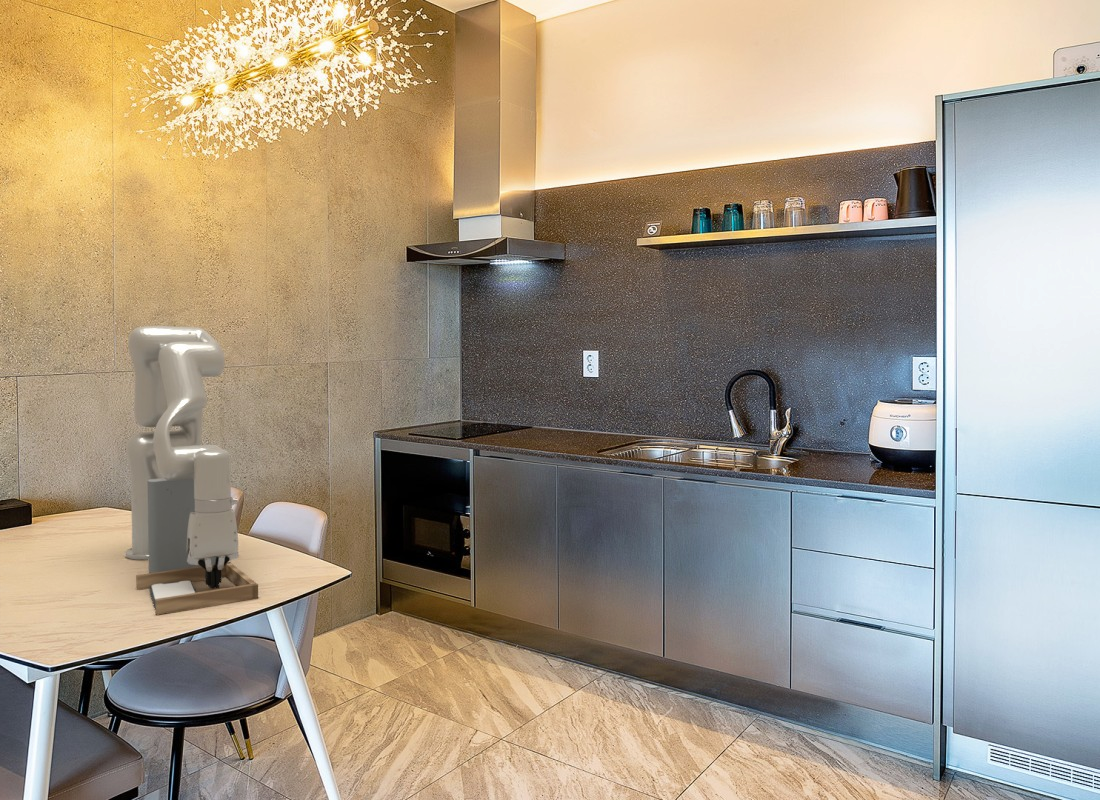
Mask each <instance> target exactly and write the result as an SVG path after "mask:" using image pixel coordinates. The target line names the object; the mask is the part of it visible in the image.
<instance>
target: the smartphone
mask: <svg viewBox="0 0 1100 800" xmlns="http://www.w3.org/2000/svg"><path fill="white" fill-rule="evenodd" d="M191 593H197V590H196V588H195V586H194V583H193V582H192V581H189V580H186V581H177V582H169V583H160V584H153V585H151V586H150V588H149V595H150V598H151V597H152V598H151V601H153V602H152V604H154V605H153V608H155V599H159V598H165V597H172V596H178V595H184V594H191Z"/></svg>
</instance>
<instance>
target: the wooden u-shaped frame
mask: <svg viewBox="0 0 1100 800" xmlns="http://www.w3.org/2000/svg"><path fill="white" fill-rule="evenodd" d="M212 568H214V564H213V565H212ZM225 577H226V578H227V577H228V579H229V580H230V581H231V582H232V583H233V584H234V583H235V584H234V585H235V586H230V587H223V588H215V589H210V590H204V591H199V592H197V591H196V593H191V594H184V595H178V596H172V597H165V598H159V599H155V609H154V611H155V613H156V614H161V615H165V614H164V613H167V614H171V613H170V612H173V613H177V612H176V611H179V612H183V611H184V610H185V611H190V610H195V609H196V608H197V609H202V608H201V607H203V608H208V607H207V606H209V607H213V606H219V605H225V604H231V603H237V602H243V601H244V602H245V601H249V600H255V599H259V584H258V583H257V582H256V581H255V580H253V579H252V578H251V577H249V576H248V575H247V574H246V573H244V572H243V571H242V570H241V569H239V568H238V567H237V566H236V565H234V564H233V563H232V562H230V561H228V562H227V563H226V565H225V566H224V567H223V569H222V570H221V578H225ZM135 579H136V580H135V583H136V584H135V586H136V587H135V589H136V588H137V589H139V590H144V589H143V588H146V589H150V586H151V585H153V584H160V583H169V582H177V581H186V580H189V581H192V583H193V582H198V581H205V569H204V568H203V567H201V566H199V567H191V568H184V569H177V570H170V571H163V572H155V573H149V572H148V573H143V574H136V575H135ZM137 589H136V590H137ZM156 614H155V615H156Z"/></svg>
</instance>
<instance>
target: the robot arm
mask: <svg viewBox="0 0 1100 800" xmlns="http://www.w3.org/2000/svg"><path fill="white" fill-rule="evenodd" d="M127 345H128V352H129V356H130V359H131V361H132V362H131V363H132V366H133V370H134V400H133V401H134V404H133V405H134V407H133V408H134V419H135V422H136V423H137V425H139V426H141V427H142V428H143V427H144V428H154V431H144V432H139V433H136V434H133V435H132V436H131V437H129V439H128V440H127V442H126V444H125V445H126V446H125V451H126V458H127V462H128V468H129V475H130V477H129V478H130V496H131V497H130V499H131V500H130V501H131V502H130V503H131V506H130V507H131V547H130V548H128V549H127V550H125V553H124V554H125V558H128V559H132V560H138V561H139V560H140V561H141V560H144V561H145V560H148V561H149V545H148V482H147V480H151V479H159V478H164V479H166V480H169V481H177V480H188V479H194V512H191V513H190V516H189V522H188V531H187V553H188V558H187V563H189V564H191V565H200V566H201V567H203V568H204V569H205V580H204V581H205V585H206V586H208V588H209V589H210V590H215V589H220V584H221V583H222V577H221V570H222V569H223V567H224V566H225V565H226V563H227V562H230V561H232V560H235V559H238V558H239V557H240V554H239V551H238V550H239V533H238V526H237V524H238V523H237V519H236V514H235V513H236V512H235V510H234V509H233V506H234V505H237V504H238V498H237V497H236V498H235V497H233V496H232V495H231V494H232V491H231V490H232V487H231V486H232V484H231V483H232V482H231V480H232V479H231V476H232V475H231V474H232V473H231V467H232V465H231V464H232V463H231V462H232V461H231V454H230V452H229V451H228V450H226V449H223V448H221V447H220V446H218V445H216V444H203V445H202V439H203V437H202V433H203V417H204V415H203V411H204V410H203V409H204V408H205V407H206V406H207V403H208V398H207V393H206V389H205V385H204V381H203V379H204V378H208V377H210V378H212V377H213V378H215V377H219V376H221V375H222V374H223V373H224V370H225V367H226V366H225V365H226V362H225V361H226V359H225V354H224V351H223V349H222V348H221V346H220V344H219V343H218V342H217V340H216V339H214V338H213V336H211V335H210V333H208V332H207V331H206V330H205V329H204V328H202V327H201V328H200V327H195V326H169V325H145V326H144V325H143V326H138V327H136V328H134V329H133V330H131V332H130V333H129V337H128V343H127ZM173 427H180V428H179V429H178V430H177V429H176V430H171V428H173ZM213 557H215V564H214V568H212V564H211V559H210V558H213Z"/></svg>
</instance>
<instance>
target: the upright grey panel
mask: <svg viewBox="0 0 1100 800" xmlns="http://www.w3.org/2000/svg"><path fill="white" fill-rule="evenodd" d="M147 482H148V545H149V560H148V573H155V572H163V571H170V570H177V569H184V568H191V567H199V566H200V565H191V564H189V563H187V558H188V553H187V531H188V522H189V516H190V513H191V512H194V479H188V480H177V481H169V480H166V479H164V478H159V479H151V480H147ZM210 559H211V564H212V565H213V564H215V557H213V558H210Z"/></svg>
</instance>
